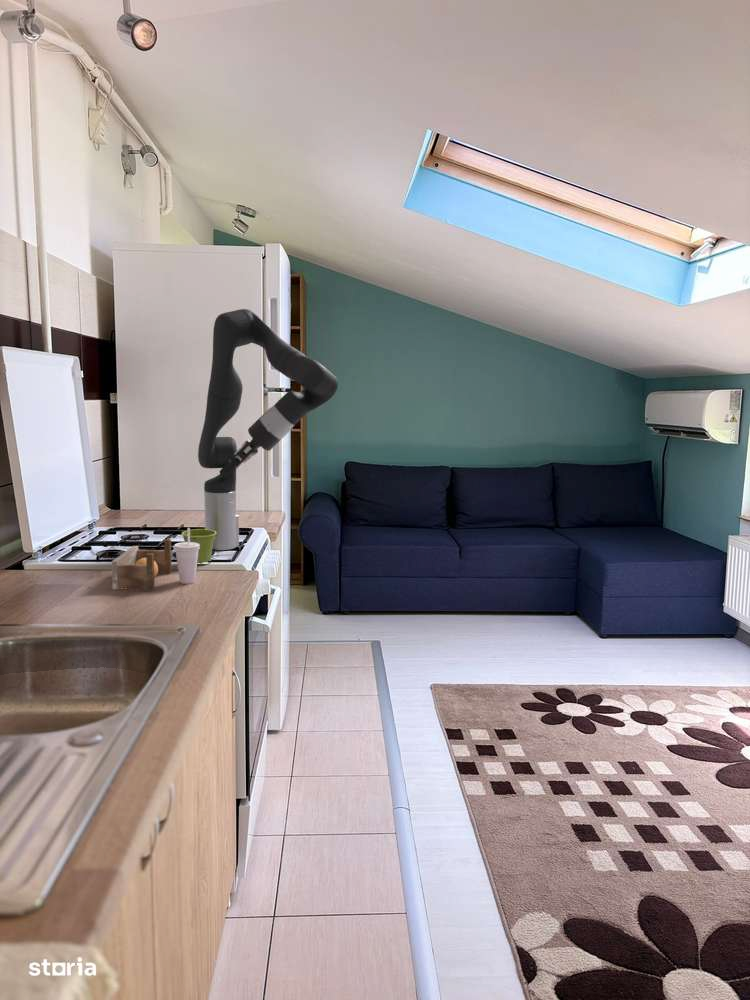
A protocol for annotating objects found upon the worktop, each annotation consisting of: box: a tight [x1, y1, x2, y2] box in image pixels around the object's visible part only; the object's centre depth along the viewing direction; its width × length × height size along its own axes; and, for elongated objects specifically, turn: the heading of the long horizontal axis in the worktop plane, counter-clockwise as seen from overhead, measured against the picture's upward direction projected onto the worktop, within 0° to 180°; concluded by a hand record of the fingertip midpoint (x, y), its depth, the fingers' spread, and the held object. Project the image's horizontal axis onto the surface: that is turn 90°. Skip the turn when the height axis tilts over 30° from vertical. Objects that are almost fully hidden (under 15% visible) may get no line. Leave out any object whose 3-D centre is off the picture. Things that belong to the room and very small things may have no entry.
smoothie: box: [173, 527, 200, 585], centre depth 205 cm, size 6×6×14 cm
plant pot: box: [181, 528, 216, 563], centre depth 225 cm, size 9×9×9 cm
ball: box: [135, 558, 159, 579], centre depth 206 cm, size 6×6×6 cm
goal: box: [111, 538, 173, 591], centre depth 206 cm, size 10×17×9 cm, turn 179°
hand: (225, 472), depth 202 cm, fingers open, 8 cm apart
